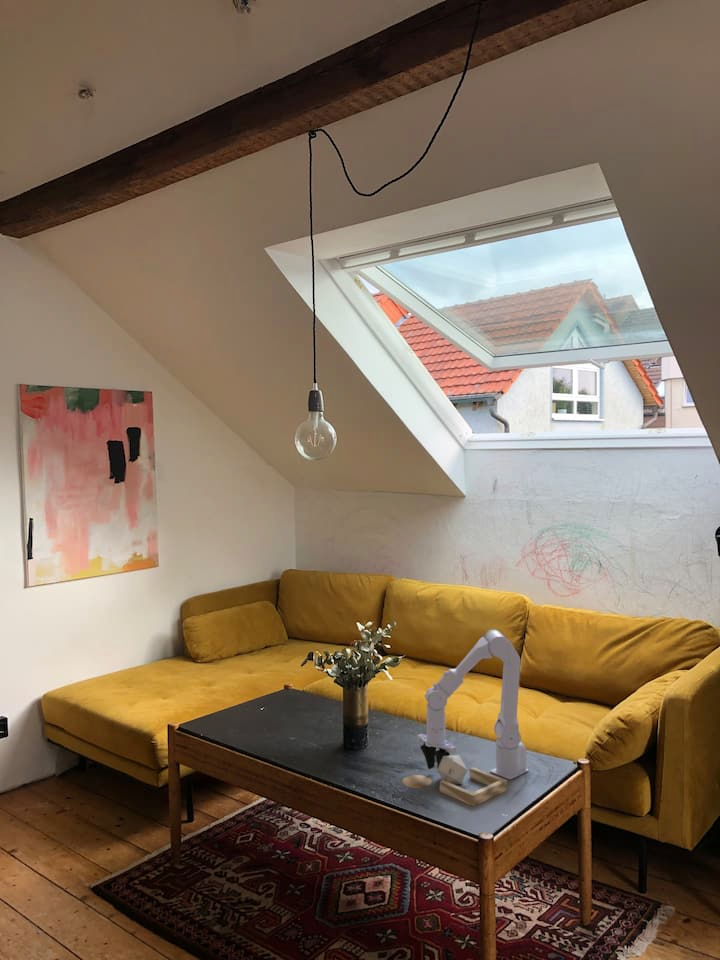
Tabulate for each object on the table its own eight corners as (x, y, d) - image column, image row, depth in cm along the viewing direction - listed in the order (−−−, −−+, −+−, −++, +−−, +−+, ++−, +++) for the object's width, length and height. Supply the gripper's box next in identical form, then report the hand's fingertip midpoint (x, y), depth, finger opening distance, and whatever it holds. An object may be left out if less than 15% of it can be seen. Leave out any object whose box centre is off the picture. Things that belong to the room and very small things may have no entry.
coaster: (416, 774, 243) (416, 772, 243) (437, 783, 237) (437, 781, 237) (396, 782, 238) (396, 781, 238) (417, 792, 231) (417, 790, 231)
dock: (473, 776, 240) (473, 767, 240) (507, 790, 230) (506, 780, 230) (439, 791, 230) (439, 781, 230) (473, 806, 220) (473, 795, 220)
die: (431, 782, 237) (436, 765, 231) (443, 760, 243) (448, 743, 237) (455, 796, 235) (461, 780, 228) (467, 773, 240) (473, 757, 234)
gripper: (410, 723, 243) (410, 766, 244) (444, 736, 232) (444, 781, 233) (426, 718, 248) (426, 760, 248) (460, 730, 237) (460, 774, 237)
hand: (436, 770), depth 241 cm, fingers open, 4 cm apart
